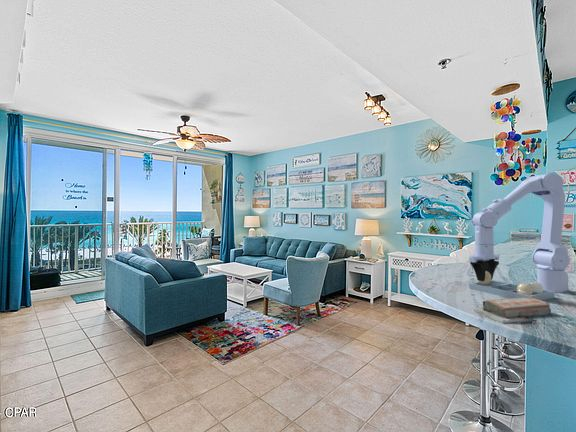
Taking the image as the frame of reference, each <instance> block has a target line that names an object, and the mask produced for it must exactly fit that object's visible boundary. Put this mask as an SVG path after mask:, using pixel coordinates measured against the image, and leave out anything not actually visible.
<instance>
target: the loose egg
mask: <svg viewBox="0 0 576 432" xmlns="http://www.w3.org/2000/svg"><path fill="white" fill-rule="evenodd" d="M477 282H478V284H481V285H491V274H490V273H489V272H488V271H486V272H485V280H484V281H479V280H477Z"/></svg>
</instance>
